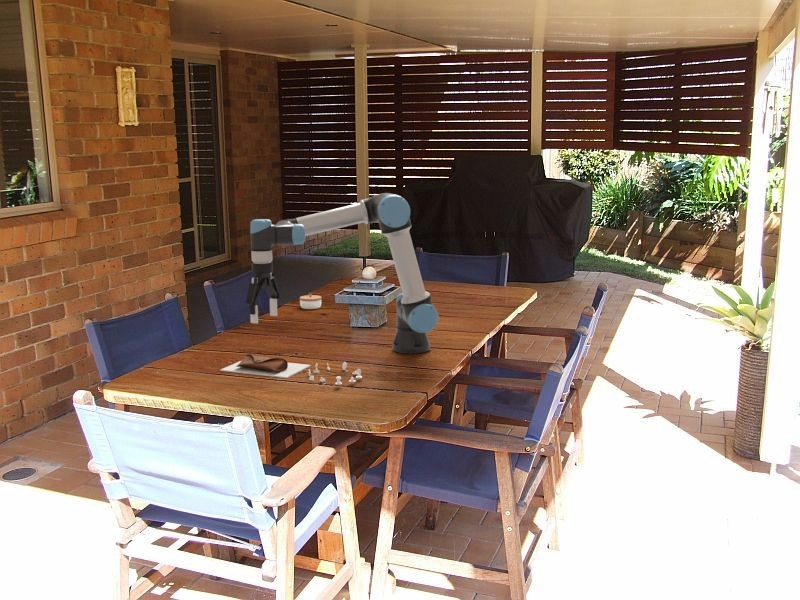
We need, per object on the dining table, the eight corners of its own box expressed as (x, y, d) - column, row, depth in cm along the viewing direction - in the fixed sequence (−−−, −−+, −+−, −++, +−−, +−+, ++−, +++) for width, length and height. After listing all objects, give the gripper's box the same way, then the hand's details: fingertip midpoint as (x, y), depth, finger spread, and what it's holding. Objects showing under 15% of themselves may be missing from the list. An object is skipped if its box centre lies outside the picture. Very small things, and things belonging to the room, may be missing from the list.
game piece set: (332, 366, 316) (332, 357, 315) (372, 375, 303) (372, 365, 303) (294, 378, 301) (294, 367, 300) (335, 388, 288) (335, 377, 288)
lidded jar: (326, 311, 417) (325, 293, 415) (312, 315, 408) (312, 296, 406) (309, 309, 423) (308, 291, 421) (295, 313, 414) (295, 294, 412)
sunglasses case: (233, 365, 309) (239, 349, 312) (242, 373, 315) (247, 357, 318) (276, 371, 302) (281, 354, 305) (284, 378, 308) (289, 361, 311)
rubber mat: (310, 365, 316) (310, 364, 316) (286, 378, 299) (286, 377, 299) (246, 359, 326) (246, 358, 326) (220, 370, 310) (220, 369, 310)
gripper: (270, 257, 318) (272, 312, 322) (234, 266, 295) (236, 325, 299) (288, 258, 315) (290, 313, 319) (252, 267, 293) (254, 326, 296)
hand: (264, 319), depth 309 cm, fingers open, 13 cm apart
